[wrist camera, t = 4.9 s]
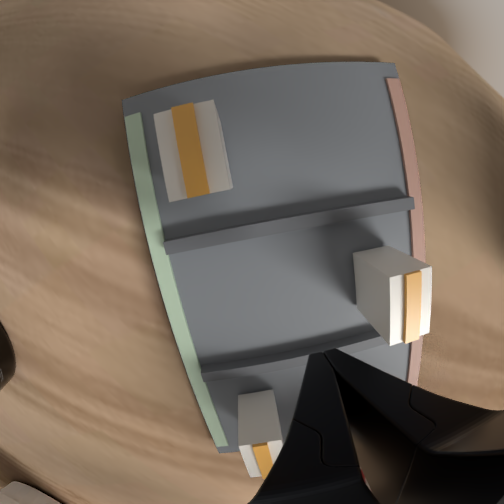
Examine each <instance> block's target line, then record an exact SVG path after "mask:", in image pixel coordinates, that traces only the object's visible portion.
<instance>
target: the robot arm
mask: <svg viewBox="0 0 504 504" xmlns="http://www.w3.org/2000/svg"><path fill="white" fill-rule="evenodd" d="M360 467H361V469H362V471H363V474H364V476H365V478H366V480H367V482H368V484H369V486H370V489H371V490H370V489H369V488H368V486H367V485H366V483H365V482H364V479H363V476H362V473H361V469H360ZM371 491H372V492H371ZM248 504H504V410H498V411H496V410H488V409H484V408H480V407H476V406H473V405H469V404H466V403H462V402H459V401H455V400H452V399H449V398H446V397H443V396H440V395H437V394H434V393H432V392H429V391H427V390H424V389H422V388H420V387H417V386H415V385H413V386H412V384H411V383H408V382H406V381H404V380H402V379H400V378H397V377H395V376H393V375H391V374H389V373H387V372H384V371H382V370H380V369H378V368H376V367H374V366H372V365H370V364H368V363H365V362H363V361H361V360H359V359H357V358H355V357H353V356H351V355H349V354H347V353H345V352H343V351H341V350H339V349H337V348H332V349H328V350H324V351H323V352H316V353H311V354H309V356H308V360H307V364H306V369H305V373H304V377H303V381H302V384H301V388H300V392H299V396H298V400H297V403H296V407H295V411H294V414H293V418H292V421H291V424H290V427H289V431H288V434H287V436H286V439H285V442H284V444H283V446H282V449H281V451H280V453H279V455H278V457H277V459H276V461H275V462H274V464H273V466H272V468H271V470H270V471H269V473H268V475H267V477H266V479H265V480H264V482H263V484H262V485H261V487H260V489H259V490H258V492H257V493H256V495H255V496H254V497H253V499H252V500H251V501H250V502H249V503H248Z"/></svg>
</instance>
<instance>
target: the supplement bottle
mask: <svg viewBox="0 0 504 504" xmlns="http://www.w3.org/2000/svg"><path fill="white" fill-rule="evenodd" d="M15 368H16V361H15V355H14V351H13V348H12V345H11V343H10V341H9V338H8V336H7V335H6V333H5V331H4V329H3V328H2V326H1V325H0V391H1V389H2V388H3V387H4V386H5V385H6V384H7V383H8V382H9V381H10V380H11V378H12V377H13V376H14V373H15Z"/></svg>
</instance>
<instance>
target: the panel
mask: <svg viewBox="0 0 504 504" xmlns="http://www.w3.org/2000/svg"><path fill="white" fill-rule="evenodd" d="M209 100H214V103H215V106H216V109H217V112H218V116H219V119H220V122H221V126H222V132H223V137H224V142H225V147H226V153H227V158H228V163H229V168H230V174H231V179H232V184H233V188H232V189H230V190H225V191H220V192H215V193H210V194H206V195H201V196H196V197H192V198H187V199H182V200H178V201H173V202H169V199H168V194H167V189H166V184H165V179H164V174H163V169H162V163H161V158H160V152H159V146H158V140H157V134H156V128H155V122H154V115H153V114H156V113H159V112H163V111H167V110H170V109H171V107H175V106H179V105H183V104H187V103H192V102H193V104H195V103H199V102H204V101H209ZM122 106H123V114H124V121H125V129H126V135H127V142H128V148H129V155H130V160H131V166H132V172H133V177H134V183H135V188H136V193H137V198H138V203H139V207H140V212H141V217H142V221H143V225H144V230H145V234H146V238H147V242H148V247H149V251H150V255H151V258H152V262H153V266H154V270H155V274H156V277H157V281H158V285H159V288H160V292H161V295H162V299H163V302H164V305H165V309H166V312H167V315H168V319H169V322H170V325H171V328H172V331H173V334H174V338H175V341H176V344H177V347H178V350H179V352H180V355H181V358H182V361H183V364H184V367H185V370H186V372H187V375H188V378H189V381H190V383H191V386H192V389H193V391H194V394H195V397H196V399H197V402H198V404H199V407H200V409H201V412H202V414H203V417H204V419H205V422H206V424H207V427H208V429H209V431H210V434H211V436H212V438H213V441H214V443H215V445H216V447H217V450H218V452H219V453H228V452H237V451H240V449H239V446H238V395H242V394H248V393H255V392H261V391H266V390H272V389H273V392H274V396H275V401H276V406H277V411H278V416H279V421H280V426H281V432H282V438H283V444H284V442H285V439H286V436H287V434H288V431H289V427H290V424H291V421H292V418H293V414H294V411H295V407H296V403H297V400H298V396H299V392H300V388H301V384H302V381H303V377H304V373H305V369H306V364H307V360H308V356H309V354H311V353H316V352H323V351H324V350H328V349H332V348H337V349H339V350H341V351H343V352H345V353H347V354H349V355H351V356H353V357H355V358H357V359H359V360H361V361H363V362H365V363H368V364H370V365H372V366H374V367H376V368H378V369H380V370H382V371H384V372H387V373H389V374H391V375H393V376H395V377H397V378H400V379H402V380H404V381H406V382H408V383H411V384H412V386H413V385H415V386H417V383H418V376H419V369H420V361H421V352H422V342H423V335H421V336H419V339H418V340H415V341H413V342H410V343H407V344H405V343H404V342H401V343H398V344H395V345H392V346H389V345H388V344H387V342H386V341H385V340H384V339H383V338H382V337H381V335H380V334H379V333H378V332H377V331H376V330H375V329H374V327H373V326H372V325H371V324H370V323H369V322H368V321H367V319H366V318H365V317H364V316H363V315H362V314H361V313H360V311H359V310H358V309H357V301H356V286H355V274H354V262H353V253H354V252H359V251H364V250H369V249H374V248H378V247H383V246H391V247H393V248H395V249H397V250H399V251H401V252H403V253H405V254H407V255H410V256H412V257H414V258H416V259H418V260H420V261H422V262H424V263H426V260H425V233H424V217H423V205H422V195H421V186H420V178H419V170H418V163H417V157H416V151H415V145H414V139H413V134H412V129H411V124H410V119H409V114H408V110H407V106H406V101H405V97H404V93H403V89H402V86H401V82H400V79H399V77H398V73H397V70H396V66H395V63H384V62H320V63H303V64H291V65H280V66H271V67H263V68H255V69H248V70H242V71H236V72H230V73H224V74H219V75H214V76H209V77H204V78H199V79H195V80H191V81H186V82H182V83H178V84H174V85H170V86H167V87H163V88H159V89H156V90H152V91H149V92H145V93H142V94H139V95H136V96H133V97H130V98H127V99H124V100H122Z"/></svg>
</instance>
